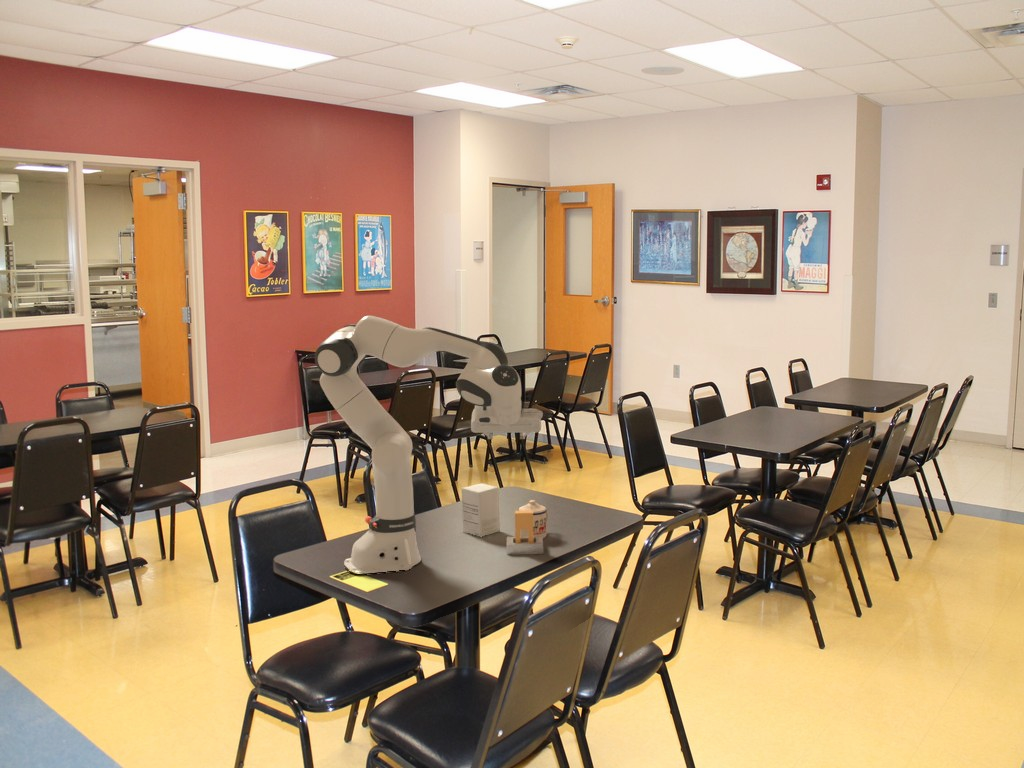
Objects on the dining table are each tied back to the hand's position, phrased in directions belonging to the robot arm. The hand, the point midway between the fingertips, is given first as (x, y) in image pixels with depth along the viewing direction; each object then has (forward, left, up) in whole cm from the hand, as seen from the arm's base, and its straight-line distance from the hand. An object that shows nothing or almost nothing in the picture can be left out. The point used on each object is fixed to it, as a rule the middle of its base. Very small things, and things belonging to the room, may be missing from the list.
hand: (506, 437), depth 258 cm
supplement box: (+4, +29, -37) cm, 47 cm away
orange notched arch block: (+8, +5, -37) cm, 38 cm away
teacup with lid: (+18, +17, -37) cm, 44 cm away
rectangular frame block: (+8, +5, -37) cm, 38 cm away
